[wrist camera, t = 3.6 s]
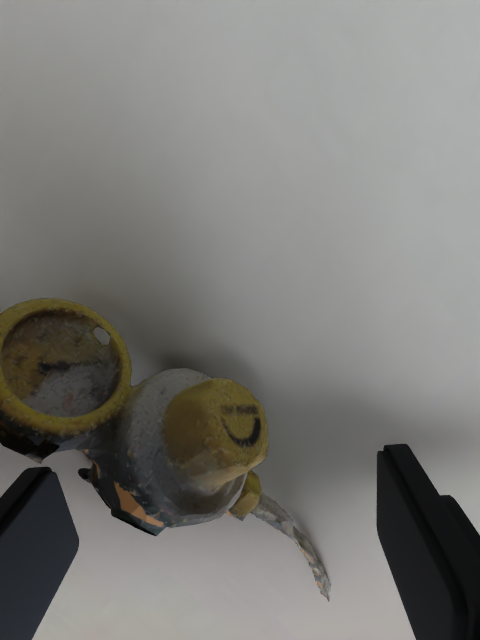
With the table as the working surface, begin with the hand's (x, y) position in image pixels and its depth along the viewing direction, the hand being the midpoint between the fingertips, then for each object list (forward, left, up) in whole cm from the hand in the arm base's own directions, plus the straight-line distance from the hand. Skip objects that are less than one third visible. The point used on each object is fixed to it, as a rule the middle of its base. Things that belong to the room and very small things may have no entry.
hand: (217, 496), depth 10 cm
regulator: (0, 0, -2) cm, 2 cm away
